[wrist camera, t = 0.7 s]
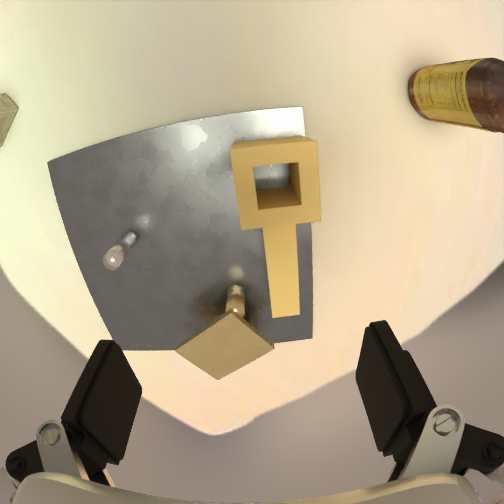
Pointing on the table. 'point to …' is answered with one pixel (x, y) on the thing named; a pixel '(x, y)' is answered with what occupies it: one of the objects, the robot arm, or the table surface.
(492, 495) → the robot arm
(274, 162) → the link
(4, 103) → the skincare box
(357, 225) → the table surface
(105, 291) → the pintle board
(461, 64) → the sauce bottle
